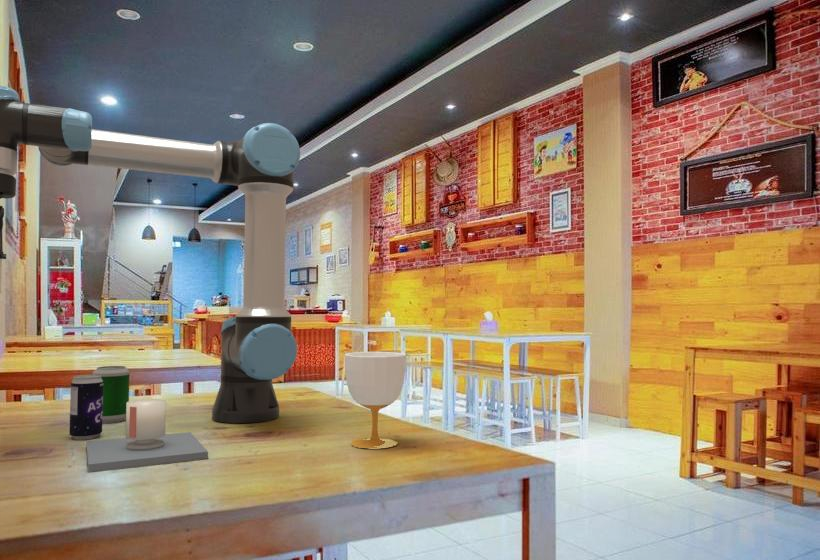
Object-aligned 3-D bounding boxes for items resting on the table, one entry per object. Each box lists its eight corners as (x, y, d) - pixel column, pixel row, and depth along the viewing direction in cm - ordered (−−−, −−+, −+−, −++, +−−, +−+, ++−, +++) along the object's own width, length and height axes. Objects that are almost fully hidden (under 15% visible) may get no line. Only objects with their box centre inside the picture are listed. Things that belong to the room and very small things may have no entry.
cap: (162, 431, 111) (163, 398, 111) (167, 437, 106) (168, 403, 106) (124, 434, 108) (125, 400, 108) (126, 441, 102) (127, 405, 103)
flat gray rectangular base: (190, 438, 119) (190, 424, 119) (207, 458, 103) (208, 442, 103) (86, 448, 110) (87, 433, 110) (88, 472, 94) (88, 454, 95)
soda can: (135, 419, 137) (136, 366, 138) (103, 425, 131) (104, 369, 132) (116, 416, 141) (117, 364, 142) (84, 421, 135) (85, 367, 136)
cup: (418, 444, 115) (418, 354, 116) (373, 454, 107) (374, 357, 107) (375, 434, 123) (376, 350, 124) (330, 444, 115) (331, 353, 115)
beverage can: (88, 441, 116) (89, 378, 116) (62, 439, 117) (64, 377, 117) (108, 435, 121) (110, 374, 122) (83, 433, 122) (85, 374, 123)
